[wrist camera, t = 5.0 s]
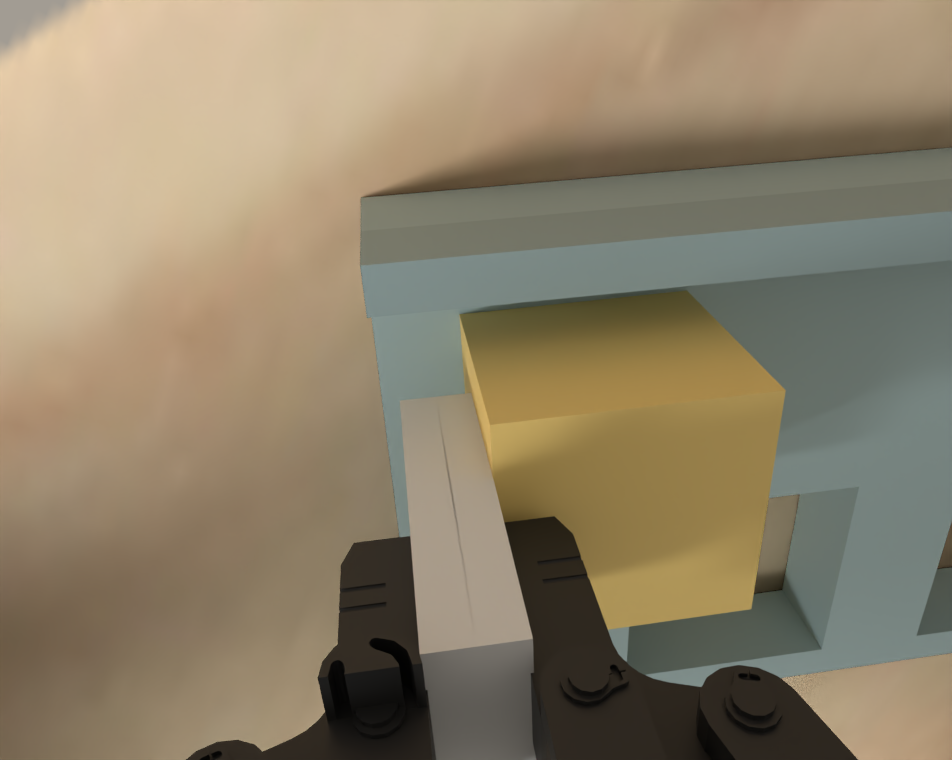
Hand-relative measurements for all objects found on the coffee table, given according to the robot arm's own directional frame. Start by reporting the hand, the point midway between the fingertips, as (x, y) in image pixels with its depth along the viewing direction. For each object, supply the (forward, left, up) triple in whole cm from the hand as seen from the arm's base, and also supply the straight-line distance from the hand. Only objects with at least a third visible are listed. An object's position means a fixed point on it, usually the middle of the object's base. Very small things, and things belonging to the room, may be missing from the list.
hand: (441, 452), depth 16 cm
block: (+3, 0, -2) cm, 4 cm away
